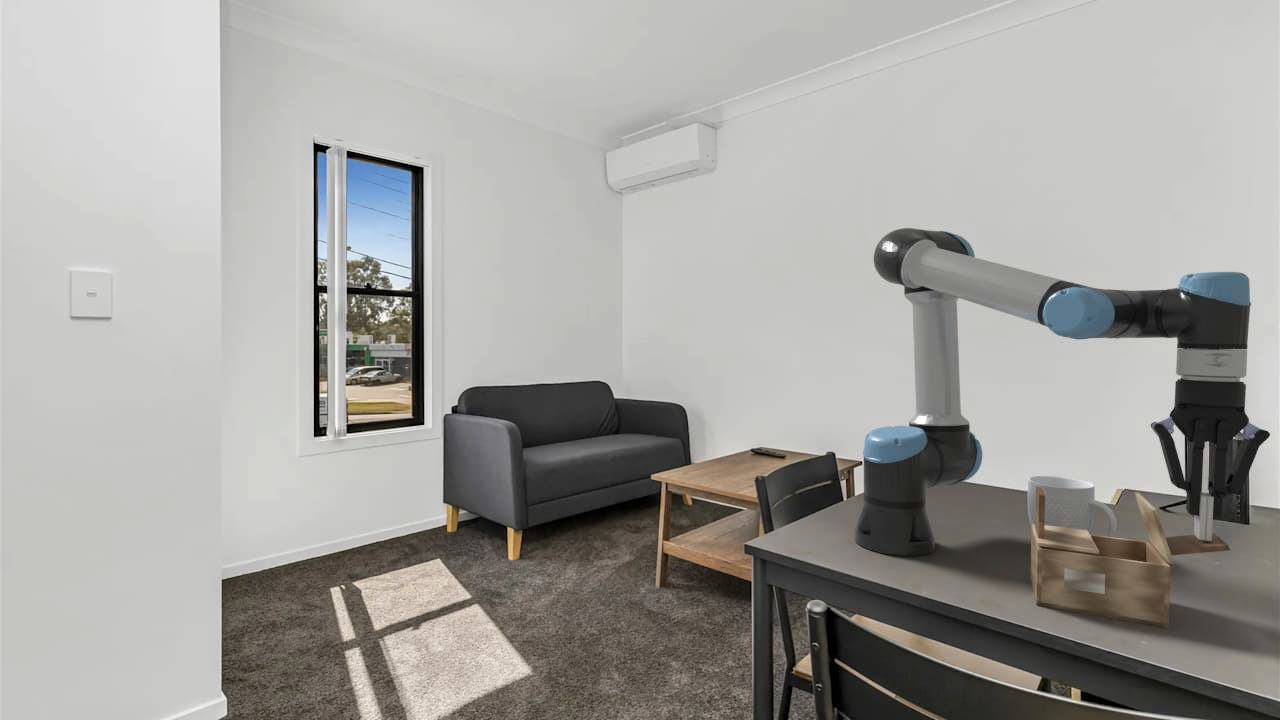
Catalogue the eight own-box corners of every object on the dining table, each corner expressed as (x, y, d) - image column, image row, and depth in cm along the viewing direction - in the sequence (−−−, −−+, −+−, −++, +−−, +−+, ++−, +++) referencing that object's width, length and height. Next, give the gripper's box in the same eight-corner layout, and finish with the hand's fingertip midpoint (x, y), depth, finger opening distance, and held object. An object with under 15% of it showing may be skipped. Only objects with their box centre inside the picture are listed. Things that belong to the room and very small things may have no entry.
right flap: (1152, 510, 88) (1218, 502, 84) (1134, 492, 98) (1193, 485, 94) (1169, 563, 87) (1237, 558, 84) (1150, 540, 97) (1210, 535, 93)
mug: (1126, 554, 117) (1128, 487, 116) (1103, 566, 111) (1104, 495, 110) (1041, 533, 129) (1042, 473, 129) (1016, 543, 123) (1017, 480, 123)
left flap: (1087, 533, 101) (1088, 488, 101) (1099, 554, 91) (1100, 504, 91) (1031, 526, 105) (1032, 483, 104) (1037, 545, 95) (1038, 498, 95)
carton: (1036, 605, 95) (1037, 548, 95) (1030, 578, 105) (1031, 527, 105) (1168, 628, 87) (1170, 567, 87) (1147, 596, 98) (1149, 541, 97)
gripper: (1159, 378, 88) (1152, 537, 89) (1282, 382, 82) (1273, 553, 83) (1147, 375, 95) (1141, 524, 96) (1259, 379, 89) (1252, 537, 90)
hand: (1202, 537), depth 89 cm, fingers closed
